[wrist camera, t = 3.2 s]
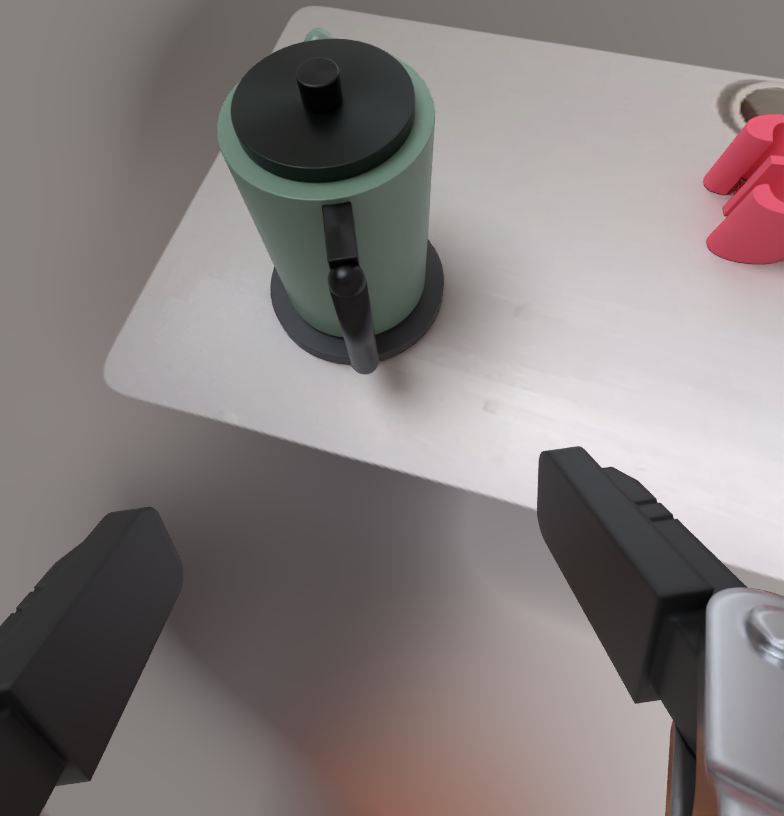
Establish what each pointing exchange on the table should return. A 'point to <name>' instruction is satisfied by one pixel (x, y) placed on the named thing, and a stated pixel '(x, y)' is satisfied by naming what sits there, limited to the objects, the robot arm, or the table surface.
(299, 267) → the kettle
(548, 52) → the table surface
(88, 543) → the robot arm
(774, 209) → the pink curled block
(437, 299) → the kettle base
